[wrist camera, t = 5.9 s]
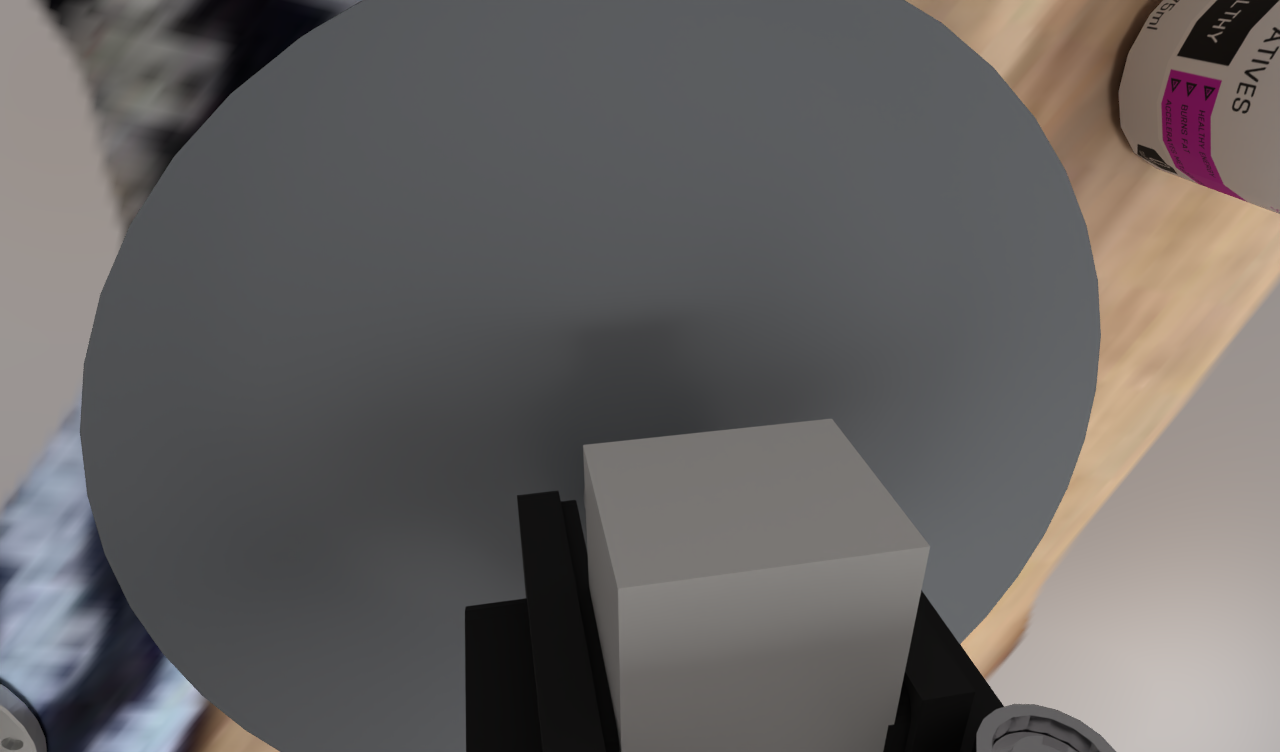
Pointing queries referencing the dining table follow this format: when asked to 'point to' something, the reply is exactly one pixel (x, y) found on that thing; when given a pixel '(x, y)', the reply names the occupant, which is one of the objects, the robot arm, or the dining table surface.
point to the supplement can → (1208, 95)
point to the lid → (591, 363)
